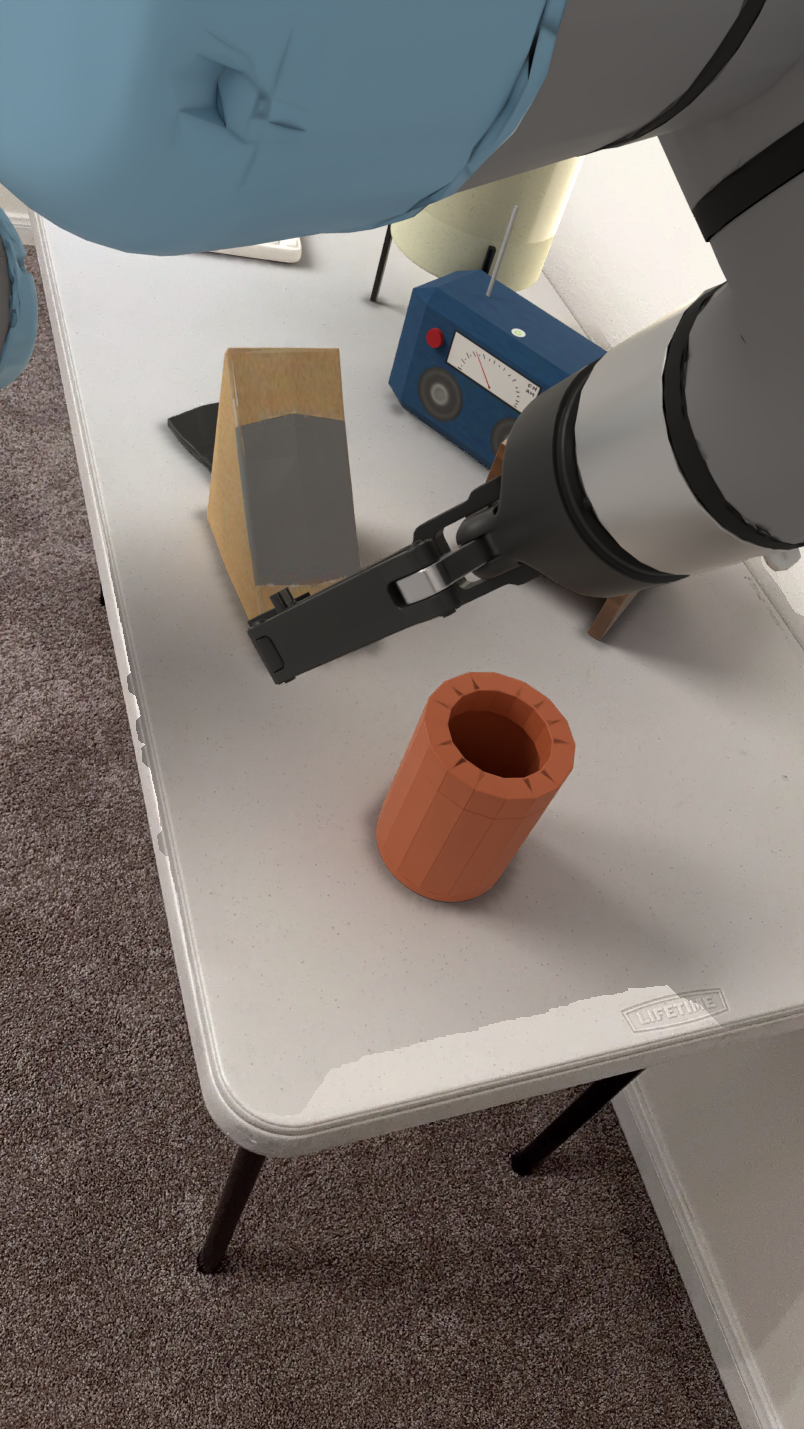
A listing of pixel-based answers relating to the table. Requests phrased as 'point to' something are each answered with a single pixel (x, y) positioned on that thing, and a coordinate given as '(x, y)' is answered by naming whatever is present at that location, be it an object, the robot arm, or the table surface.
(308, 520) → the sandwich container
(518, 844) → the canister
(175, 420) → the dark sector wedge
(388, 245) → the planter
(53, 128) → the robot arm
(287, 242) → the calculator
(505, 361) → the radio
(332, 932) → the table surface
